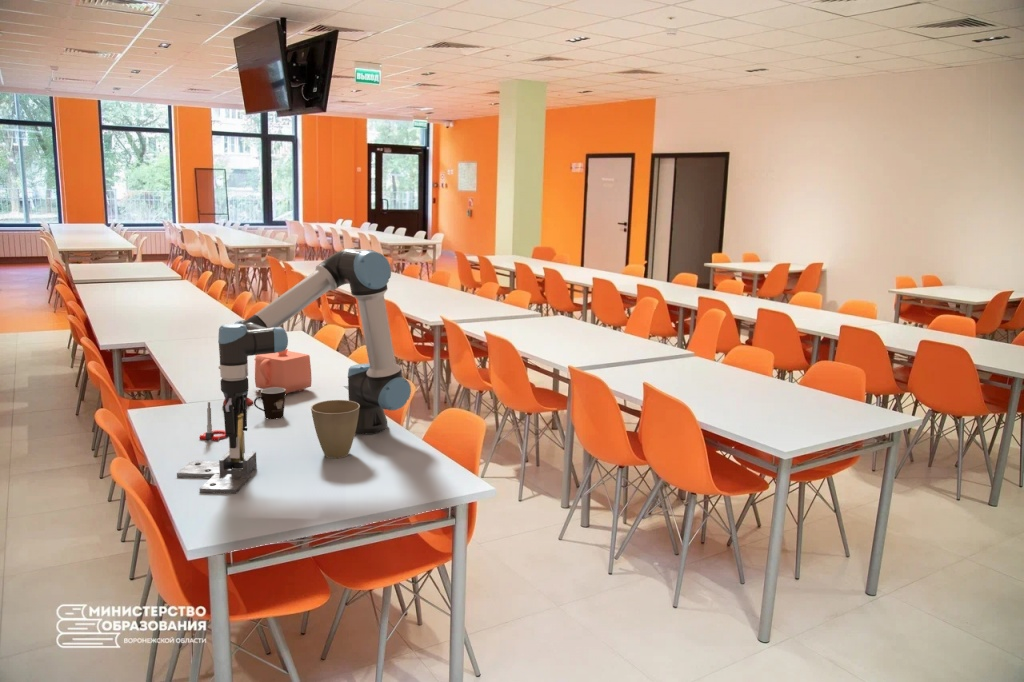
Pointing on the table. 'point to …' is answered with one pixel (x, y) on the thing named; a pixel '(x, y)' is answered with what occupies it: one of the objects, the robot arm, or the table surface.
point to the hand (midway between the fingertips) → (237, 455)
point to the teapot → (283, 371)
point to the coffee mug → (272, 402)
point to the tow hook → (210, 434)
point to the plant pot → (335, 426)
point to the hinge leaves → (221, 473)
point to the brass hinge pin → (240, 439)
